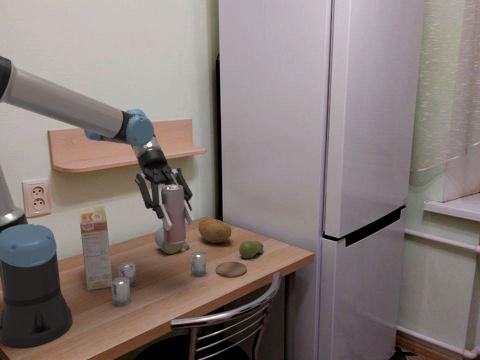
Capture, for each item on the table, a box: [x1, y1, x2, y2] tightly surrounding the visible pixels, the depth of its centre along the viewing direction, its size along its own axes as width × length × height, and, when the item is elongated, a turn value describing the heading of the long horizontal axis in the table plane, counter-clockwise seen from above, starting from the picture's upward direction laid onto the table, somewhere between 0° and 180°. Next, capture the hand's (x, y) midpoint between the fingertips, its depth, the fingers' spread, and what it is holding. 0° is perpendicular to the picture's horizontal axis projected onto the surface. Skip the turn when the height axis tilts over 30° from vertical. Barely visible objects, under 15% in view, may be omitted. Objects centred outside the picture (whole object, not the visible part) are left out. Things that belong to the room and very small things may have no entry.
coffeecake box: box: [79, 205, 113, 291], centre depth 121 cm, size 15×7×20 cm, turn 20°
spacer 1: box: [111, 276, 132, 307], centre depth 108 cm, size 4×4×6 cm
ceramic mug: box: [154, 226, 190, 255], centre depth 143 cm, size 11×8×8 cm
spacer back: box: [118, 260, 137, 289], centre depth 118 cm, size 4×4×6 cm
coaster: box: [215, 261, 247, 278], centre depth 126 cm, size 9×9×1 cm
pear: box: [238, 240, 264, 259], centre depth 138 cm, size 6×5×10 cm
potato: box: [197, 217, 233, 244], centre depth 150 cm, size 10×14×8 cm
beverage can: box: [160, 184, 187, 244], centre depth 114 cm, size 6×6×15 cm
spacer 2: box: [190, 250, 207, 278], centre depth 125 cm, size 4×4×6 cm
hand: (180, 225), depth 111 cm, fingers closed on beverage can, 6 cm apart
